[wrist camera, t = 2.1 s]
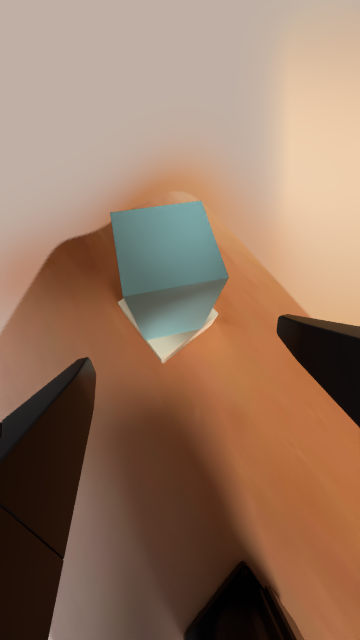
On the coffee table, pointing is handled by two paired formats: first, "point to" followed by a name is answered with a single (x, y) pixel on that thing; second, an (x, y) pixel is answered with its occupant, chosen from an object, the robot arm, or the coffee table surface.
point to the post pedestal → (171, 343)
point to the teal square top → (168, 267)
